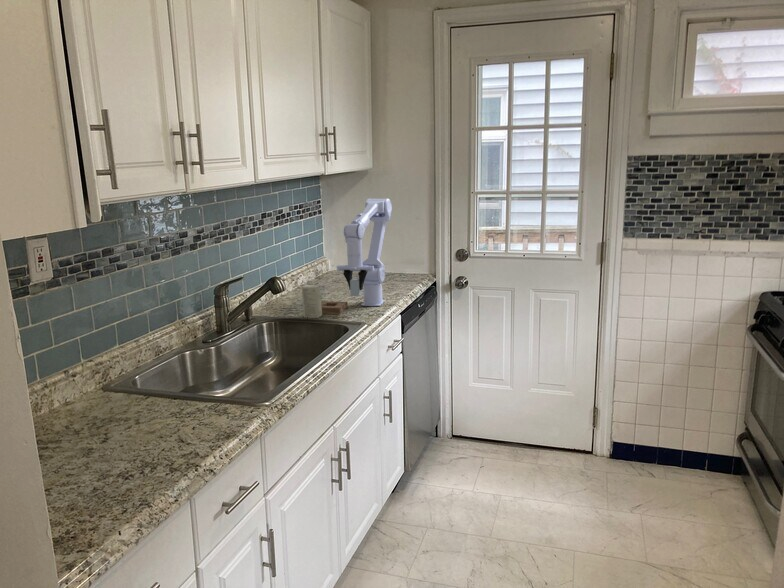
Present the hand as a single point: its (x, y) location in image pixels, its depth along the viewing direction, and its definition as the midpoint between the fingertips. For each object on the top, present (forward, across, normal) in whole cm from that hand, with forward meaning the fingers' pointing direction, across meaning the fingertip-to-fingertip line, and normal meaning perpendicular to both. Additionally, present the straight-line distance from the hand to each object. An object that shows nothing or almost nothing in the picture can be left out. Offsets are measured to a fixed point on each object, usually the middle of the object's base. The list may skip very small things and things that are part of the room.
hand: (356, 289), depth 251 cm
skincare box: (+10, -16, -8) cm, 20 cm away
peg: (+2, 0, 0) cm, 2 cm away
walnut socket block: (+9, -12, +2) cm, 15 cm away
